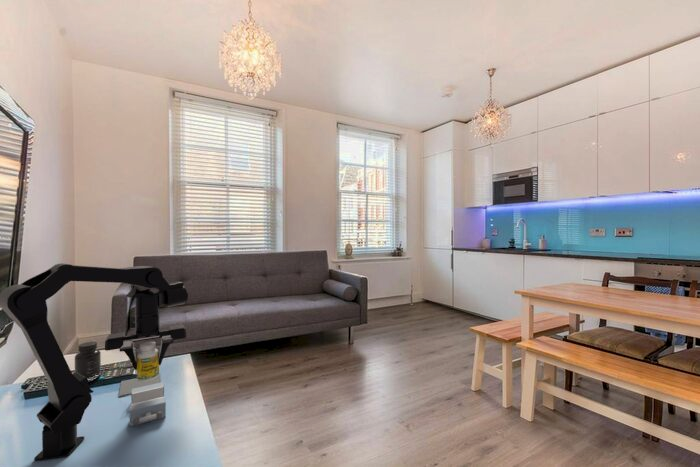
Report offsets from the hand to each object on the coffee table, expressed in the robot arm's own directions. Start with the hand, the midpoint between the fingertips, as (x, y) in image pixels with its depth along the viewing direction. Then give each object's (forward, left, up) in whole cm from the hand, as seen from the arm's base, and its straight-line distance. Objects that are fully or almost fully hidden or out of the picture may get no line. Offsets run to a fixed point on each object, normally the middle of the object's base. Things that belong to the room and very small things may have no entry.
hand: (148, 366), depth 90 cm
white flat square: (+16, +8, -12) cm, 21 cm away
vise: (-1, 0, -12) cm, 12 cm away
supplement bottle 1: (+24, +27, -12) cm, 38 cm away
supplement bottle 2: (0, 0, -3) cm, 3 cm away
